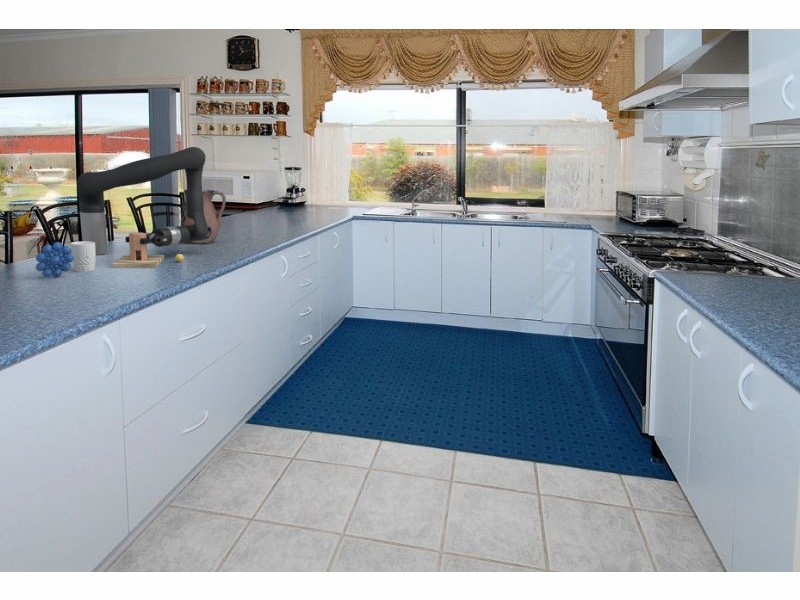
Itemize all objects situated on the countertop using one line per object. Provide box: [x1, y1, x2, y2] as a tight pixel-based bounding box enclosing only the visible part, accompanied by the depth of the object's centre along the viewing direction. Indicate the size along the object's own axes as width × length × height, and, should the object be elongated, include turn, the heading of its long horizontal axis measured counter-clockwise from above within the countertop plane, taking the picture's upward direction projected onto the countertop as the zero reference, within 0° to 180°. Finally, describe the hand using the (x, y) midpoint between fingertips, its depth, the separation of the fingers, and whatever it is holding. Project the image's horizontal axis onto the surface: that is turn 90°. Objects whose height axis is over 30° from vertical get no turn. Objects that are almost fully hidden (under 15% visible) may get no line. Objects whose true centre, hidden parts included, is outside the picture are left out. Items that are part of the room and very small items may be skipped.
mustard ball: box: [174, 253, 185, 263], centre depth 248 cm, size 3×3×3 cm
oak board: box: [111, 254, 165, 269], centre depth 243 cm, size 20×15×2 cm
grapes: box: [35, 241, 74, 278], centre depth 211 cm, size 12×7×12 cm, turn 125°
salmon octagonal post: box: [128, 232, 148, 261], centre depth 241 cm, size 6×6×10 cm
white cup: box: [70, 241, 97, 273], centre depth 224 cm, size 8×8×10 cm
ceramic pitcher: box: [180, 189, 227, 244], centre depth 299 cm, size 18×21×25 cm
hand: (133, 240), depth 239 cm, fingers open, 7 cm apart
